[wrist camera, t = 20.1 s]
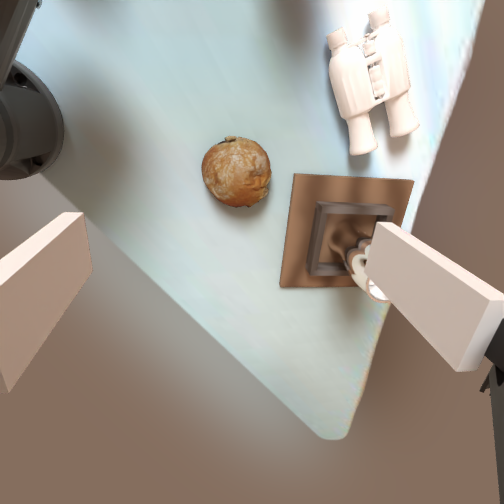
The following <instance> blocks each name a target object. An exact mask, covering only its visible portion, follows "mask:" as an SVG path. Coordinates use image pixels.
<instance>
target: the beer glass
mask: <svg viewBox="0 0 504 504" xmlns="http://www.w3.org/2000/svg"><path fill="white" fill-rule="evenodd" d="M372 239H373V237H372V236H369V235H367V234H365V233H364V232H363V230H362V229H361V227H360V226H359V225H358V224H357V223H355V222H353V221H343V222H340V223H338V224H336V225H335V226H334V227H333V228H332V229H331V231H330V232H329V235H328V245H329V247H330V249H331V250H332V251H334V252H335V253H337V254H339V255H340V256H341V258H342V260H343V262H344V265H345V267H346V269H347V271H348V273H349V275H350V276H351V278H352V279H353V280H354V282H355V283H356V284H357V285H358V286H359V287H360V288H361V289H362V290H363V291H364V292H365V293H366V294H367V295H368V296H369V297H370V298H371V299H372V300H374V301H376V302H379V303H389V302H391V301H390V300H389V299H388V298H387V297H386V296H385V295H384V294H383V292H382V291H381V290H380V289H379V288H378V287H377V286H376V285H375V284H374V283H373V282H372V281H371V280H370V279H369V277H368V276H367V275H366V274H365V273H364V269H365V266H366V262H367V258H368V254H369V250H370V246H371V243H372Z"/></svg>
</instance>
